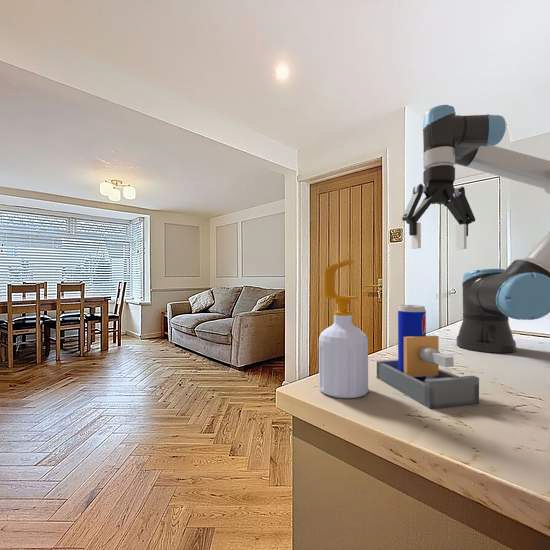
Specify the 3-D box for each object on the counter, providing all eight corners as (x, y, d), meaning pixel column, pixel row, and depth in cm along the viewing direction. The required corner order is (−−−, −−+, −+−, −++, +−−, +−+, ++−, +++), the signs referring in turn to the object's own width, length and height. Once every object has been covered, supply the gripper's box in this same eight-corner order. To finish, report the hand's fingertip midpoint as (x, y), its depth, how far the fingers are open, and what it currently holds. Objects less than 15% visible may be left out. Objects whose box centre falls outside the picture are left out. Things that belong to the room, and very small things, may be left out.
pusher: (435, 373, 65) (435, 335, 65) (466, 387, 57) (466, 343, 57) (403, 376, 64) (403, 336, 64) (431, 390, 56) (431, 345, 56)
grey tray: (416, 374, 73) (416, 354, 73) (479, 403, 56) (479, 377, 56) (376, 377, 71) (376, 356, 71) (429, 408, 54) (429, 381, 54)
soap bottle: (359, 403, 57) (359, 258, 57) (310, 393, 62) (310, 260, 62) (374, 388, 64) (373, 260, 64) (329, 380, 69) (329, 261, 69)
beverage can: (428, 385, 64) (428, 307, 64) (400, 383, 65) (399, 306, 65) (423, 377, 69) (422, 304, 69) (396, 376, 70) (396, 304, 70)
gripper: (468, 175, 94) (468, 250, 94) (388, 169, 89) (388, 249, 89) (490, 166, 87) (491, 248, 87) (404, 160, 82) (405, 246, 82)
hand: (439, 248), depth 88 cm, fingers open, 13 cm apart
